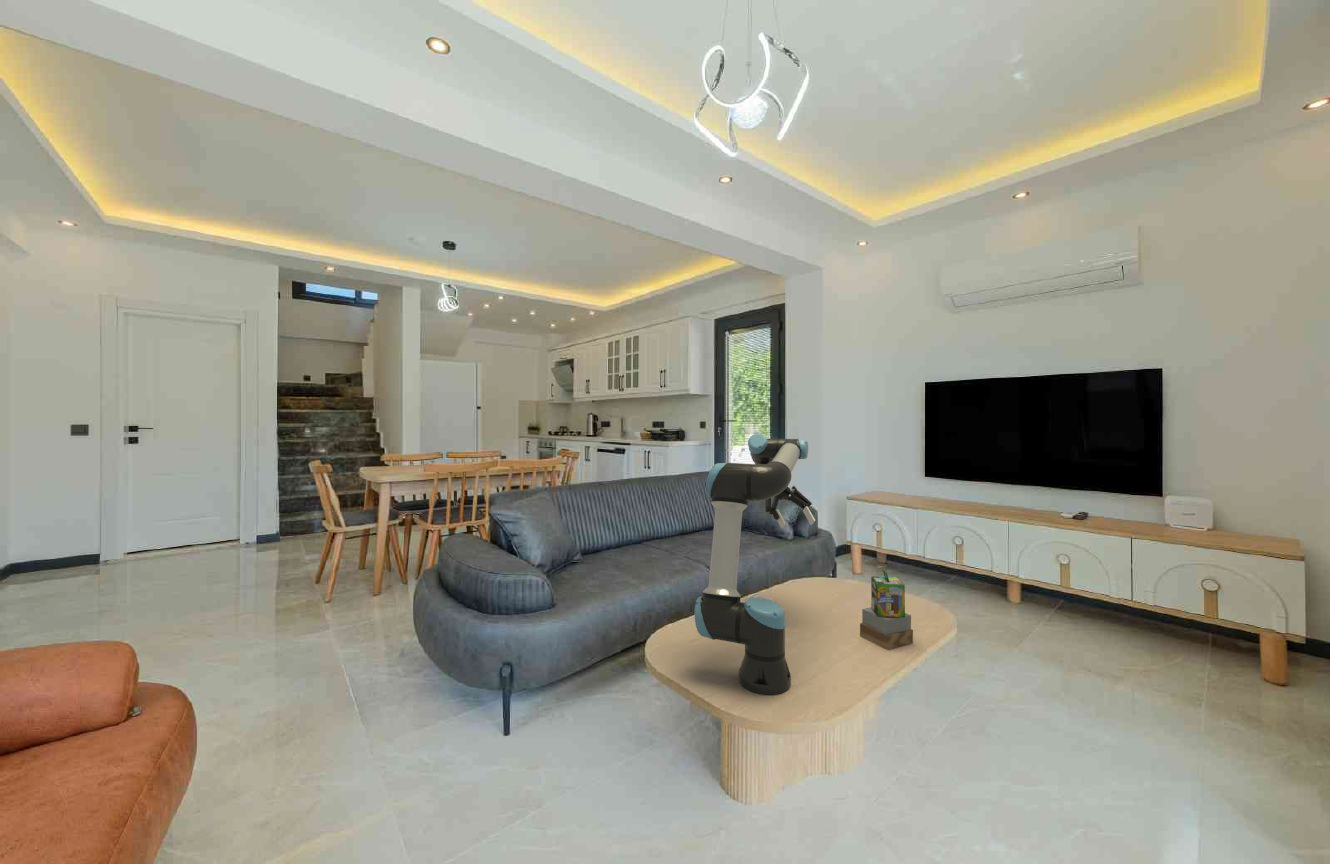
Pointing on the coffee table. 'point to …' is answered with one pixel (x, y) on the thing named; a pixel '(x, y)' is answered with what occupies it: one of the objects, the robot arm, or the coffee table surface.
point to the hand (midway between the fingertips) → (798, 524)
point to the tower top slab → (886, 622)
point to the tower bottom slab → (886, 637)
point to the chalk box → (887, 596)
